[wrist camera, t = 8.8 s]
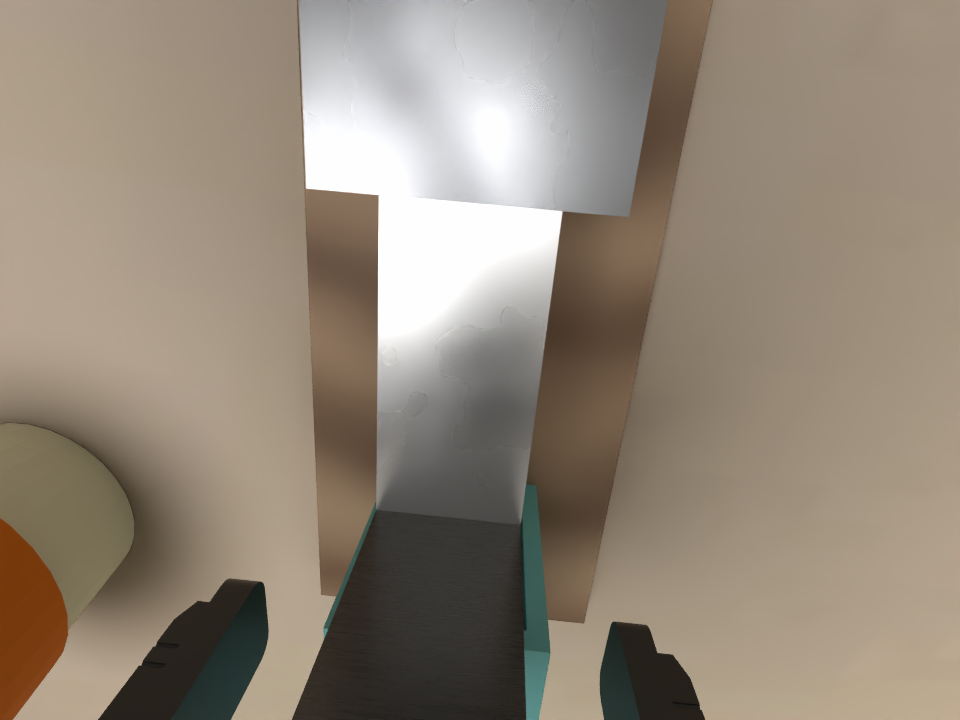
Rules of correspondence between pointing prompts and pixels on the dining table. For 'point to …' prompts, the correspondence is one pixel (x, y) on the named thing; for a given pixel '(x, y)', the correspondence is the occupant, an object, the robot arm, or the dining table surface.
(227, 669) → the robot arm
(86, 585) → the reusable coffee cup
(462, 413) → the metal sliding bolt
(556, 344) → the base board
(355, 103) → the brushed metal block
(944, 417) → the dining table surface
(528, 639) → the socket block
